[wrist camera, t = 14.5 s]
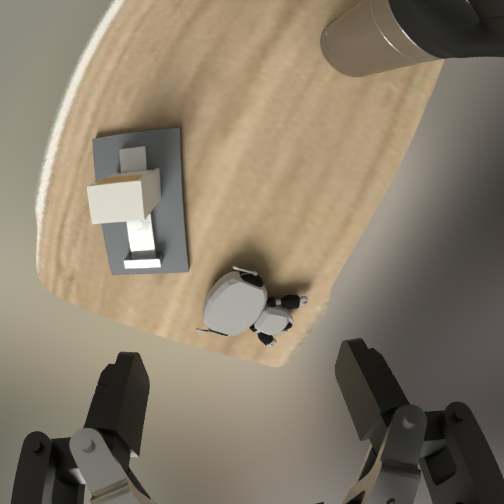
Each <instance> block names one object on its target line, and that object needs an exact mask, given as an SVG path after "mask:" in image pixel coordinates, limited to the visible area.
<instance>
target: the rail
mask: <svg viewBox="0 0 504 504" xmlns="http://www.w3.org/2000/svg"><path fill="white" fill-rule="evenodd" d="M119 152H120V167H121V173H126V172H136V171H146V170H148V153H147V146H142V147H134V148H126V149H120V150H119ZM127 229H128V235H129V242H130V248H131V253H128V255H127V256H126V258H125V259H124V265H125V269H127V268H152V267H161V266H162V263H163V260H164V257H163V252H157V249H156V241H155V234H154V225H153V216H152V211H151V212H150V214H149V215H148V216H147V218H146V219H145V220H142V221H127Z"/></svg>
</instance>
